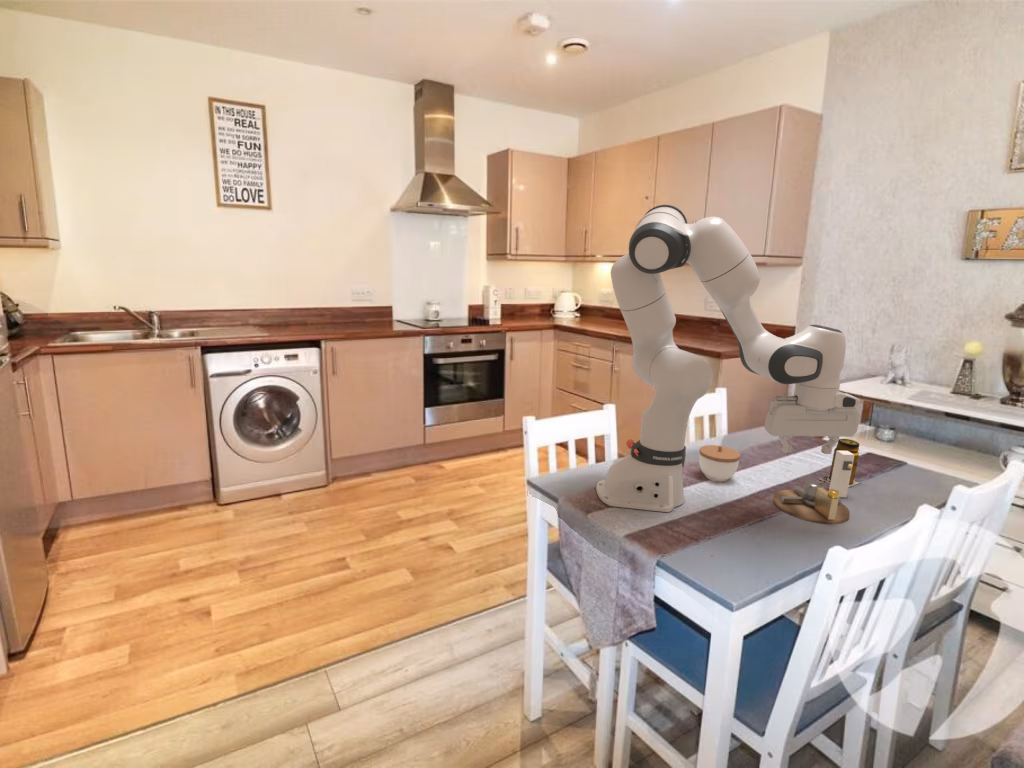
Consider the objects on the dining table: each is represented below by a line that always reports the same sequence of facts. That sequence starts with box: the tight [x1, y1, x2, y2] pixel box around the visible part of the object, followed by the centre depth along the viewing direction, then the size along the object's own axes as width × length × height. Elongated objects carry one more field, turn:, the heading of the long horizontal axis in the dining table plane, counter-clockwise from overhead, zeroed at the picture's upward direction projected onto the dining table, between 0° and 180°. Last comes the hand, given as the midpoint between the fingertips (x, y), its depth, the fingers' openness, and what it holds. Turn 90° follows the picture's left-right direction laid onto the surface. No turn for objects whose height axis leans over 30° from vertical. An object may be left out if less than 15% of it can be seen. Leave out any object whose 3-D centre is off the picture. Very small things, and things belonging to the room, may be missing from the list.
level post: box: [828, 451, 855, 498], centre depth 145 cm, size 3×4×12 cm
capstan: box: [781, 479, 843, 519], centre depth 137 cm, size 15×16×7 cm
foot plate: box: [772, 488, 850, 525], centre depth 139 cm, size 17×17×1 cm
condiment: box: [818, 438, 860, 488], centre depth 154 cm, size 7×8×12 cm
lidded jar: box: [698, 444, 741, 483], centre depth 154 cm, size 11×11×9 cm
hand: (806, 453), depth 129 cm, fingers open, 8 cm apart
